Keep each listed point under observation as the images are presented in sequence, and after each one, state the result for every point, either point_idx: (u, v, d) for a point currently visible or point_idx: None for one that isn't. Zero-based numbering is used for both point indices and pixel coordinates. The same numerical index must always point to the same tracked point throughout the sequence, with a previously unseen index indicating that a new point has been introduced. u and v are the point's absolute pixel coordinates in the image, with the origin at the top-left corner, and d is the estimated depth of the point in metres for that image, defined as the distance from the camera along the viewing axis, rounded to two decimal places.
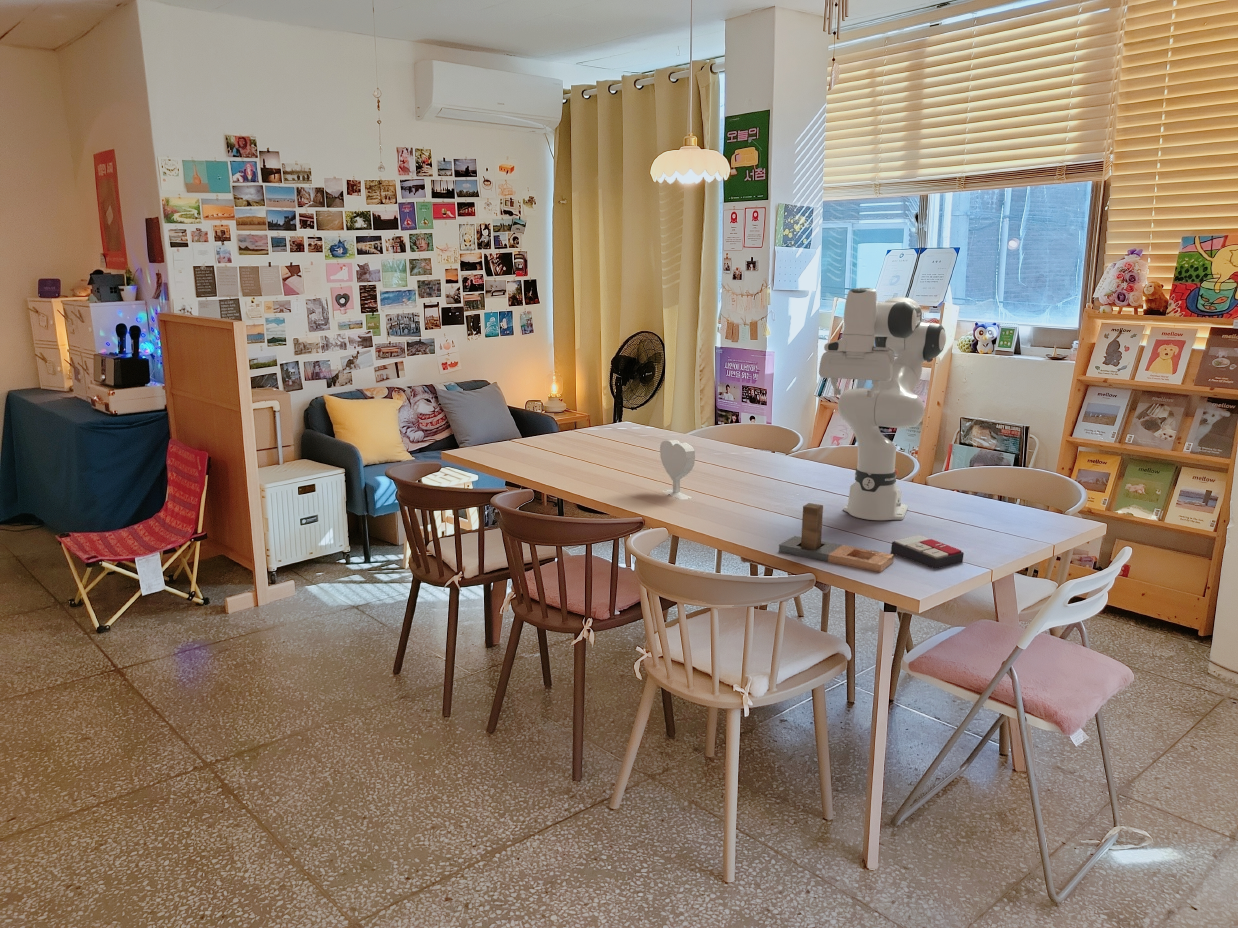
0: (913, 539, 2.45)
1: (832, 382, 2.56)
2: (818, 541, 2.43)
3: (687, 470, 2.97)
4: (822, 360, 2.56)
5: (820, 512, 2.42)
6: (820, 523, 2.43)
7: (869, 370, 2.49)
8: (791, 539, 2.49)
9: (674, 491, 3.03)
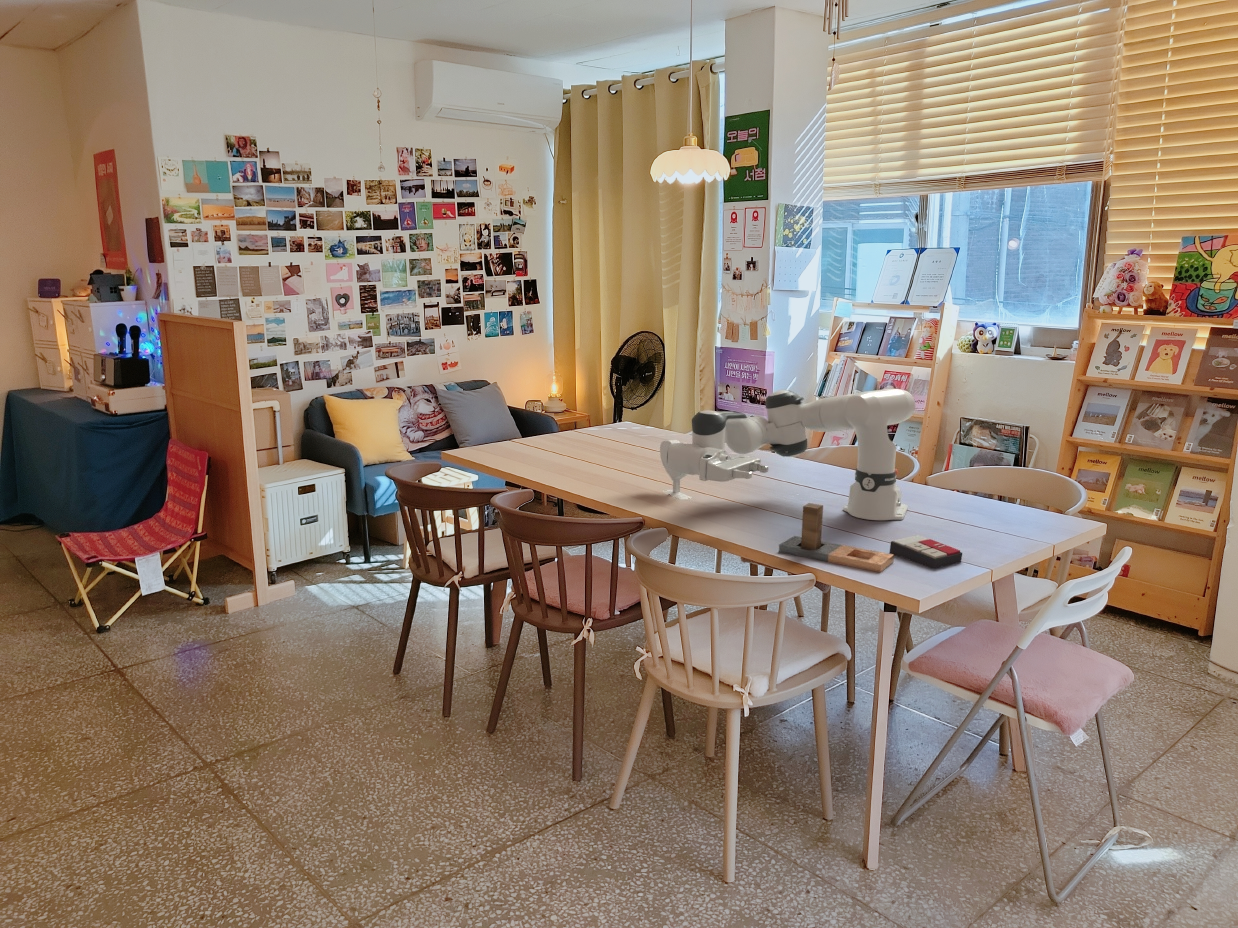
0: (912, 539, 2.45)
1: (737, 470, 2.47)
2: (818, 541, 2.43)
3: None
4: (713, 464, 2.48)
5: (820, 512, 2.42)
6: (820, 523, 2.43)
7: (744, 459, 2.58)
8: (791, 539, 2.49)
9: (674, 491, 3.03)
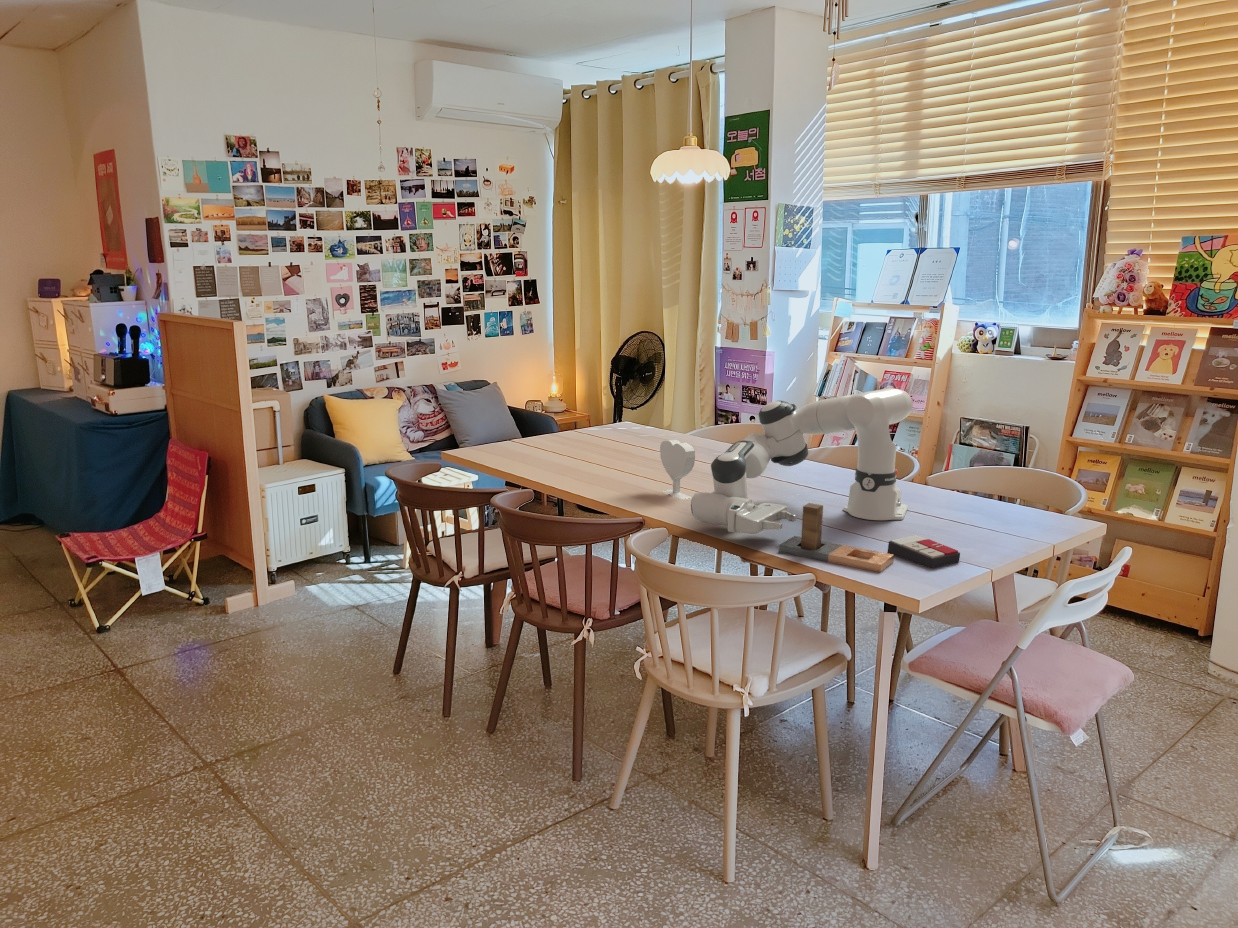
0: (910, 539, 2.45)
1: (767, 521, 2.43)
2: (818, 541, 2.43)
3: (687, 470, 2.97)
4: (742, 515, 2.44)
5: (820, 512, 2.42)
6: (820, 523, 2.43)
7: (771, 508, 2.54)
8: (791, 539, 2.49)
9: (674, 491, 3.03)
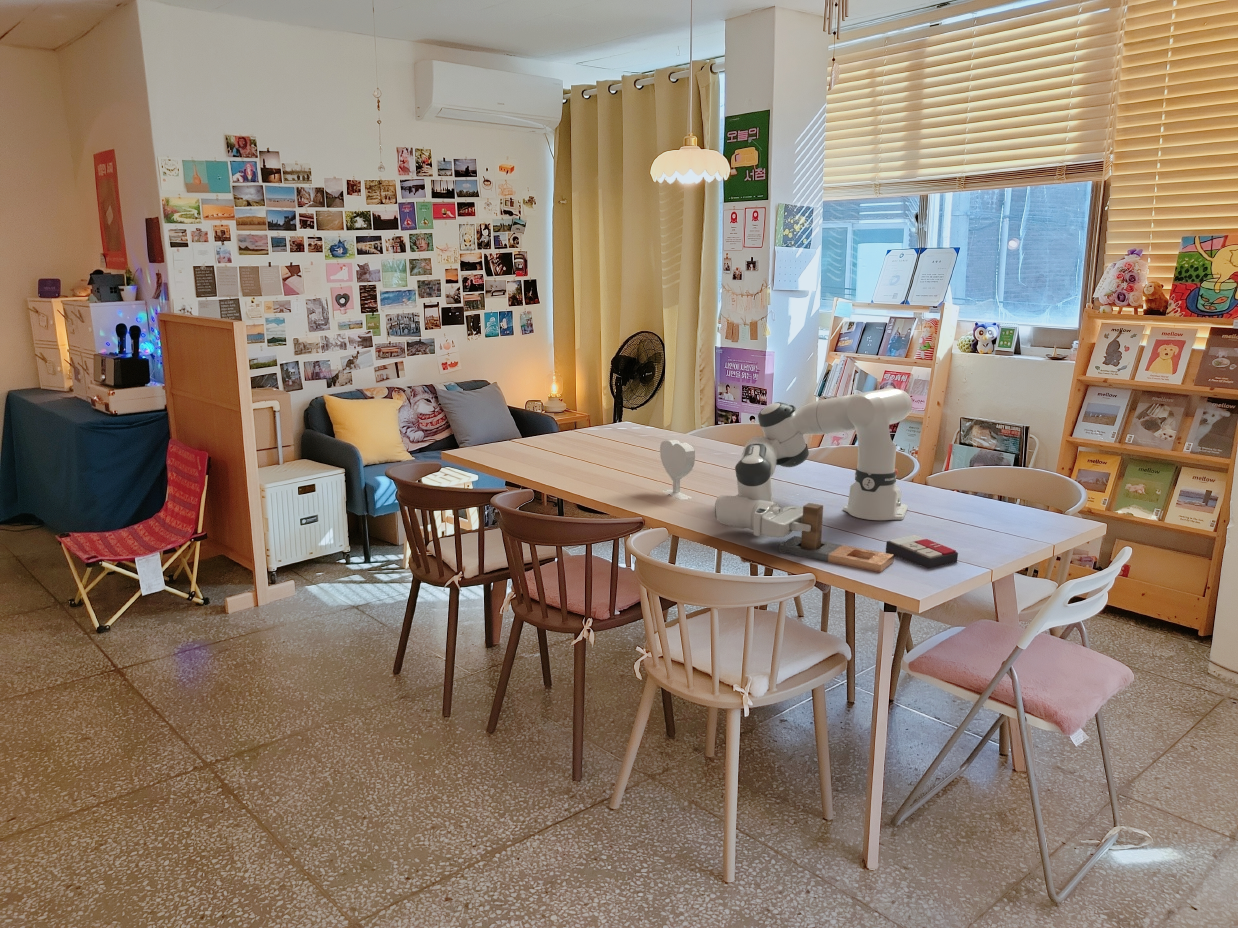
0: (908, 539, 2.45)
1: (797, 523, 2.41)
2: (818, 541, 2.43)
3: (687, 470, 2.97)
4: (768, 519, 2.40)
5: (820, 512, 2.42)
6: (820, 523, 2.43)
7: (797, 511, 2.50)
8: (791, 539, 2.49)
9: (674, 491, 3.03)
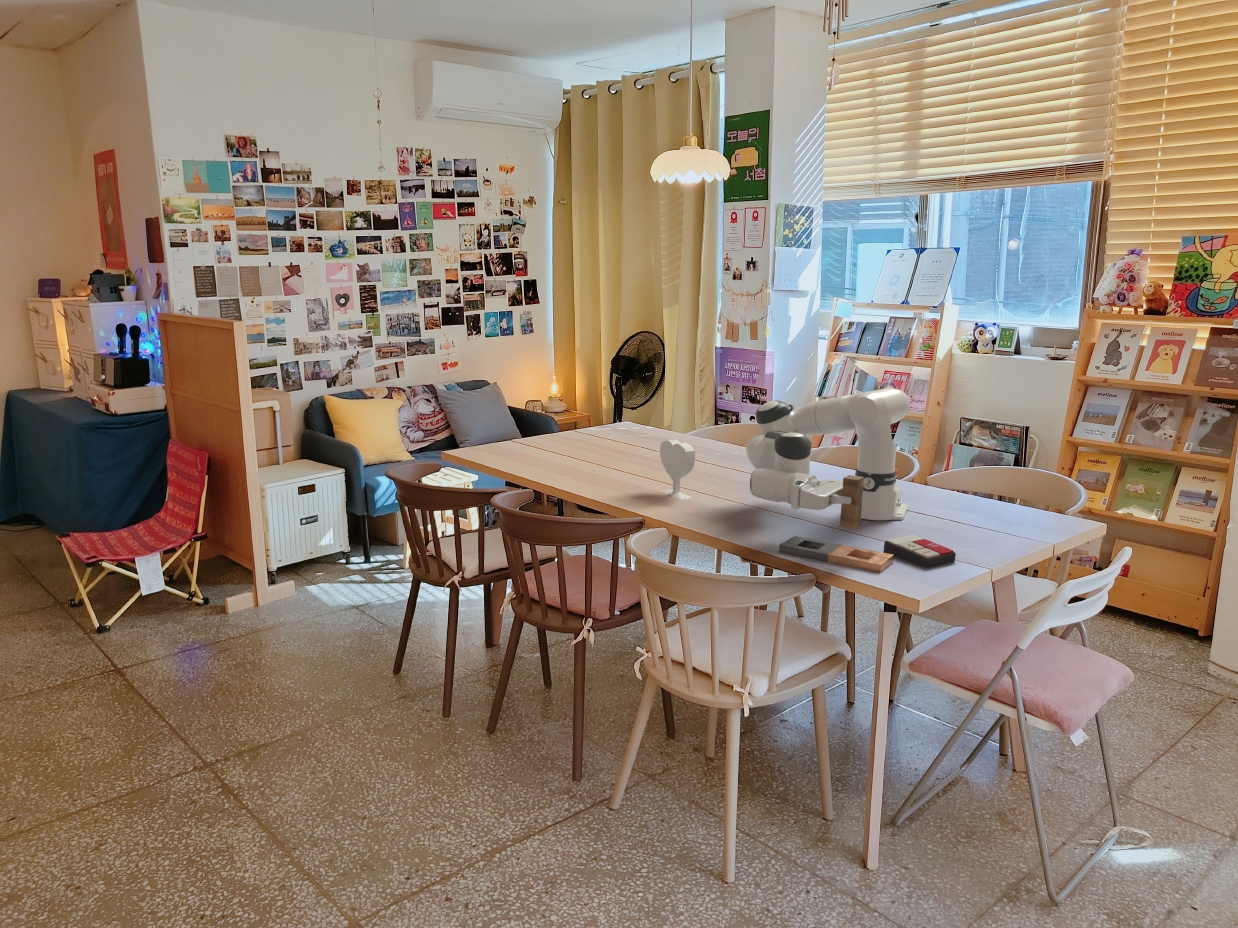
0: (906, 539, 2.45)
1: (837, 495, 2.33)
2: (859, 515, 2.35)
3: (687, 470, 2.97)
4: (807, 491, 2.32)
5: (861, 485, 2.33)
6: (861, 496, 2.34)
7: (835, 484, 2.42)
8: (791, 539, 2.49)
9: (674, 491, 3.03)
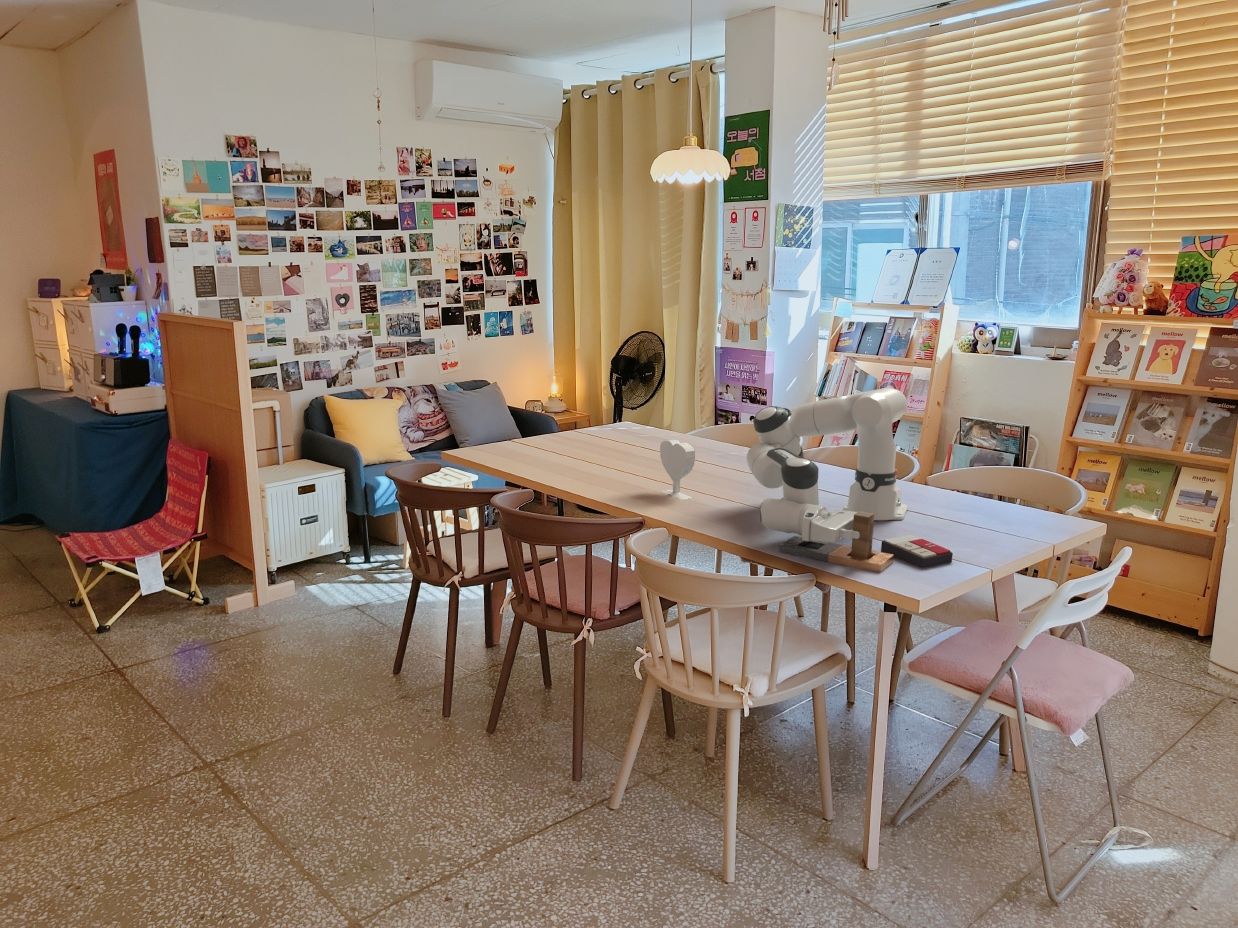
0: (903, 538, 2.45)
1: (845, 530, 2.32)
2: (869, 551, 2.36)
3: (687, 470, 2.97)
4: (818, 524, 2.32)
5: (871, 521, 2.34)
6: (871, 532, 2.35)
7: (845, 515, 2.42)
8: (791, 539, 2.49)
9: (674, 491, 3.03)
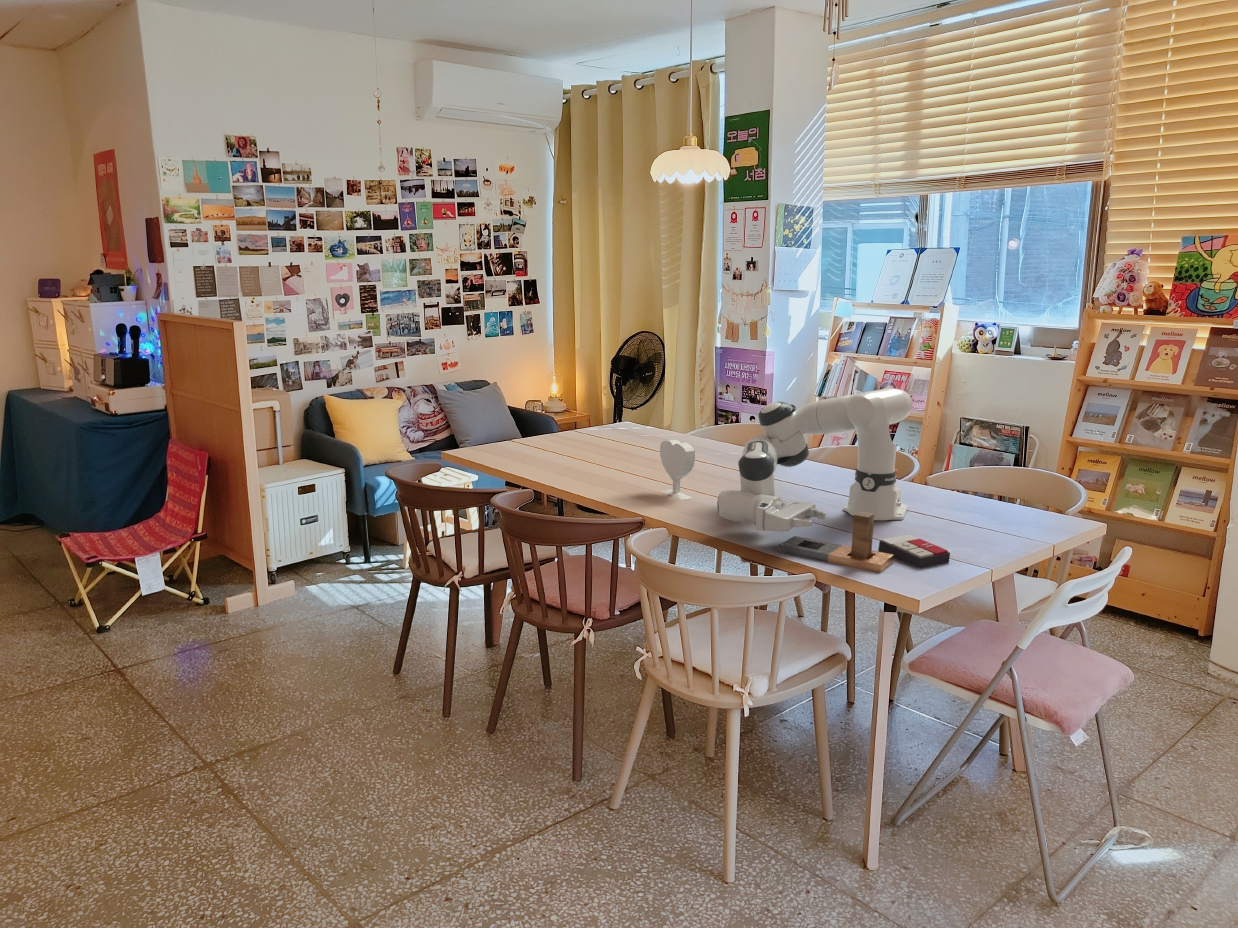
0: (901, 538, 2.46)
1: (797, 519, 2.39)
2: (869, 551, 2.36)
3: (687, 470, 2.97)
4: (771, 513, 2.39)
5: (871, 521, 2.34)
6: (871, 532, 2.35)
7: (799, 505, 2.49)
8: (791, 539, 2.49)
9: (674, 491, 3.03)
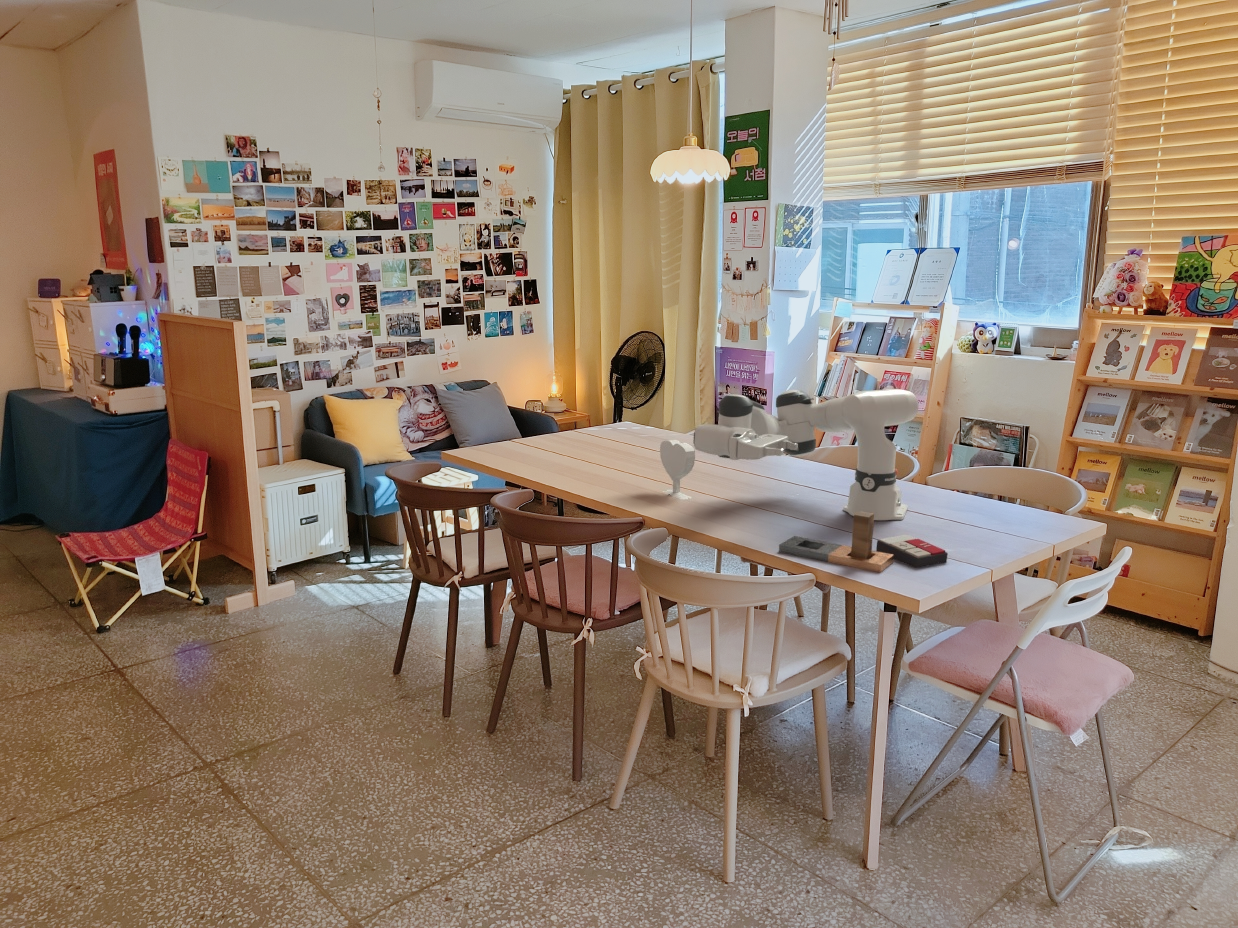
0: (899, 538, 2.46)
1: (769, 448, 2.46)
2: (869, 551, 2.36)
3: (687, 470, 2.97)
4: (744, 442, 2.47)
5: (871, 521, 2.34)
6: (871, 532, 2.35)
7: (772, 437, 2.57)
8: (791, 539, 2.49)
9: (674, 491, 3.03)
